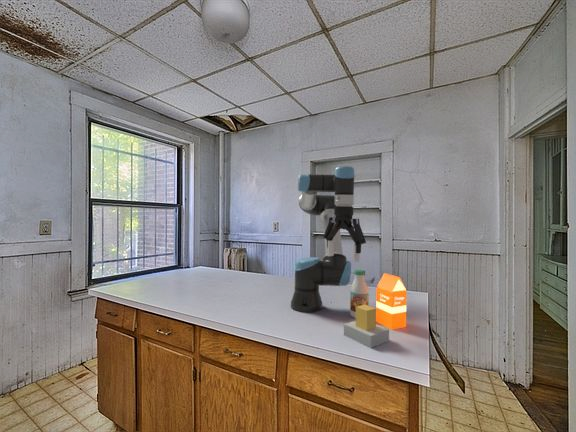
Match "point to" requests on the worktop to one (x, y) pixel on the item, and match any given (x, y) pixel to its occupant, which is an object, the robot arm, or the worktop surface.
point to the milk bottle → (358, 292)
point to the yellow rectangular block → (365, 317)
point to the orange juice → (391, 302)
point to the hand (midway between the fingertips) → (342, 258)
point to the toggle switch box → (366, 334)
